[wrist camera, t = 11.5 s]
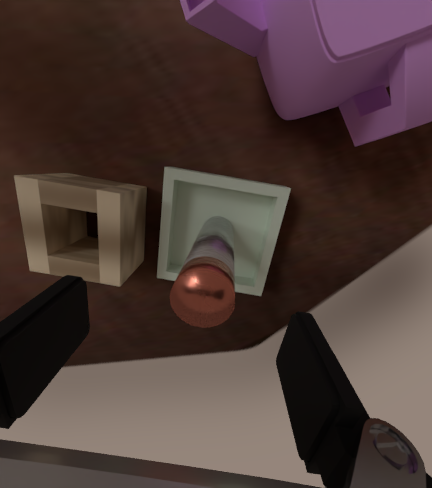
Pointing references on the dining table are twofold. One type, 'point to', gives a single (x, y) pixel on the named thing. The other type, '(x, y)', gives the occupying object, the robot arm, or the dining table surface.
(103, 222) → the socket block
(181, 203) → the tray
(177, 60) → the dining table surface
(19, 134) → the dining table surface
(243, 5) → the teakettle
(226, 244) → the metal peg
